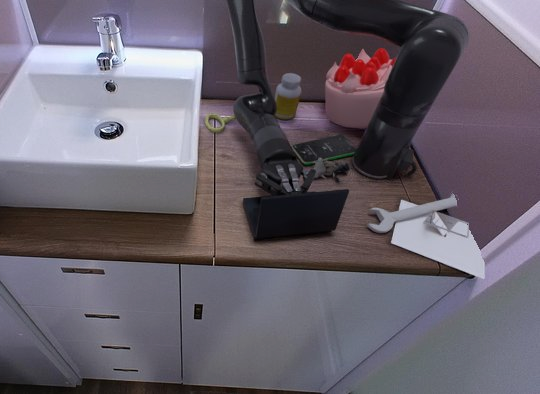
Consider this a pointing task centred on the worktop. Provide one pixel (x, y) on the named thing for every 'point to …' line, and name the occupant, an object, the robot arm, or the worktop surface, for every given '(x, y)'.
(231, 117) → the key
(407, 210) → the wrench
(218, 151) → the worktop surface
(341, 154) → the smartphone
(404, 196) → the worktop surface
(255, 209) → the laptop
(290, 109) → the pill bottle
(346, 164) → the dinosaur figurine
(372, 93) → the cake
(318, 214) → the laptop screen
